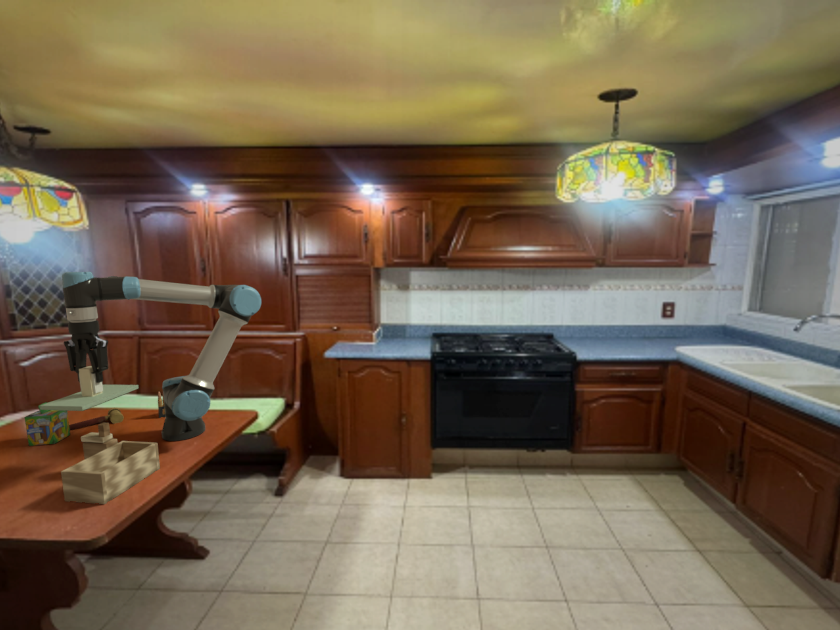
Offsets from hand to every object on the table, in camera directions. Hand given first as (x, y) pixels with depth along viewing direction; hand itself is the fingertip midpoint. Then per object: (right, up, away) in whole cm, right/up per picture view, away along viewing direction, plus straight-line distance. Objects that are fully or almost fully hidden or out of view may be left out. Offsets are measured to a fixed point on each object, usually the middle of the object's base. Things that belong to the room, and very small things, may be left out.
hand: (92, 391), depth 129 cm
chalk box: (-38, -24, +26) cm, 52 cm away
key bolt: (+1, -16, +1) cm, 16 cm away
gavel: (-33, -23, +41) cm, 57 cm away
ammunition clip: (-6, -21, +52) cm, 56 cm away
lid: (0, -3, 0) cm, 3 cm away
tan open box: (+8, -27, -6) cm, 29 cm away
